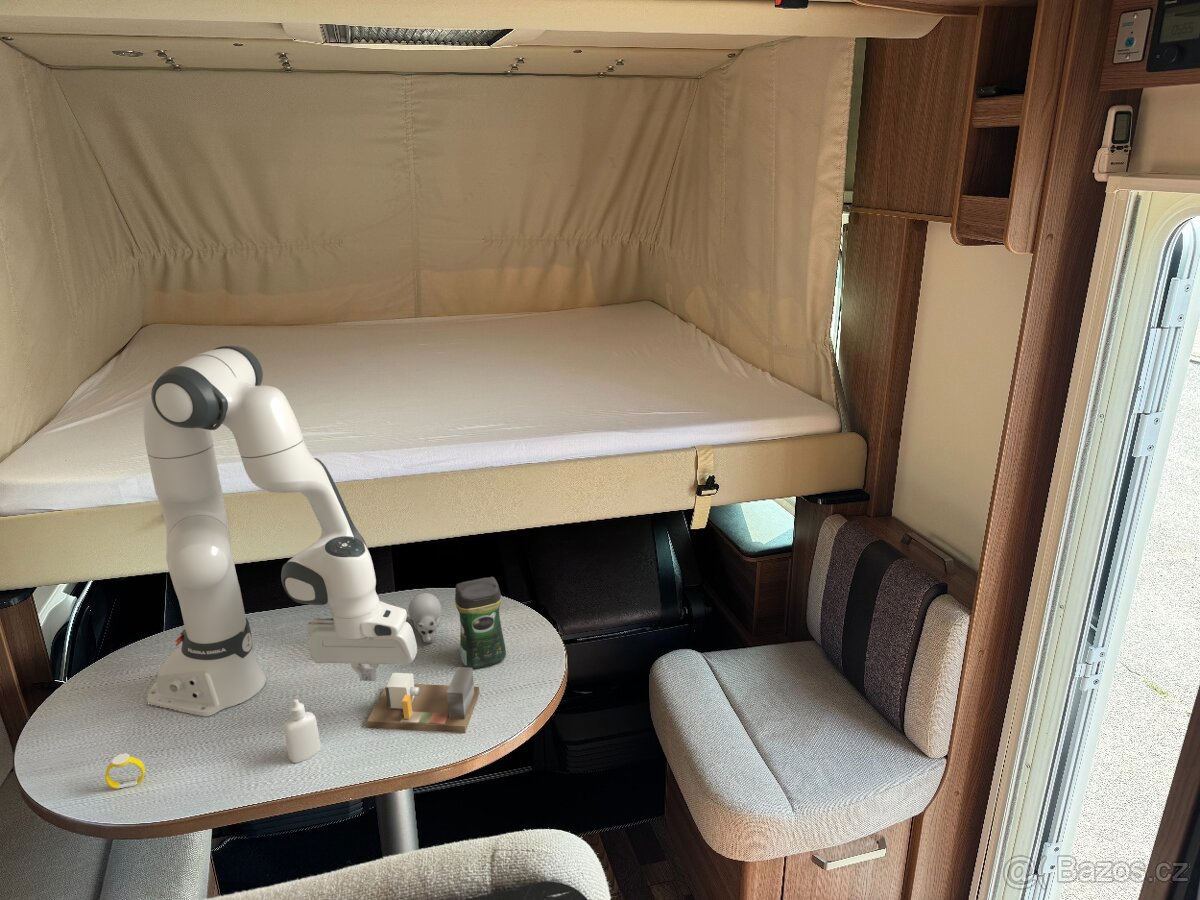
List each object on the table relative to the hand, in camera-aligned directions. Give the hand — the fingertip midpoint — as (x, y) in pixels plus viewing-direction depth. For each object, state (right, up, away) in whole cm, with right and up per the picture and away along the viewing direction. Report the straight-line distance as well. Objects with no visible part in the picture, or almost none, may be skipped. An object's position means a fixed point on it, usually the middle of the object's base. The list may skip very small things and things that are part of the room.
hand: (368, 678), depth 167 cm
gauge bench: (+11, -6, +1) cm, 13 cm away
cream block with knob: (+7, -5, 0) cm, 9 cm away
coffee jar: (+20, 0, +17) cm, 26 cm away
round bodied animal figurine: (+6, +3, +27) cm, 28 cm away
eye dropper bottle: (-9, -11, -10) cm, 17 cm away
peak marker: (+8, -6, -3) cm, 11 cm away
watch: (-38, -14, -16) cm, 44 cm away
